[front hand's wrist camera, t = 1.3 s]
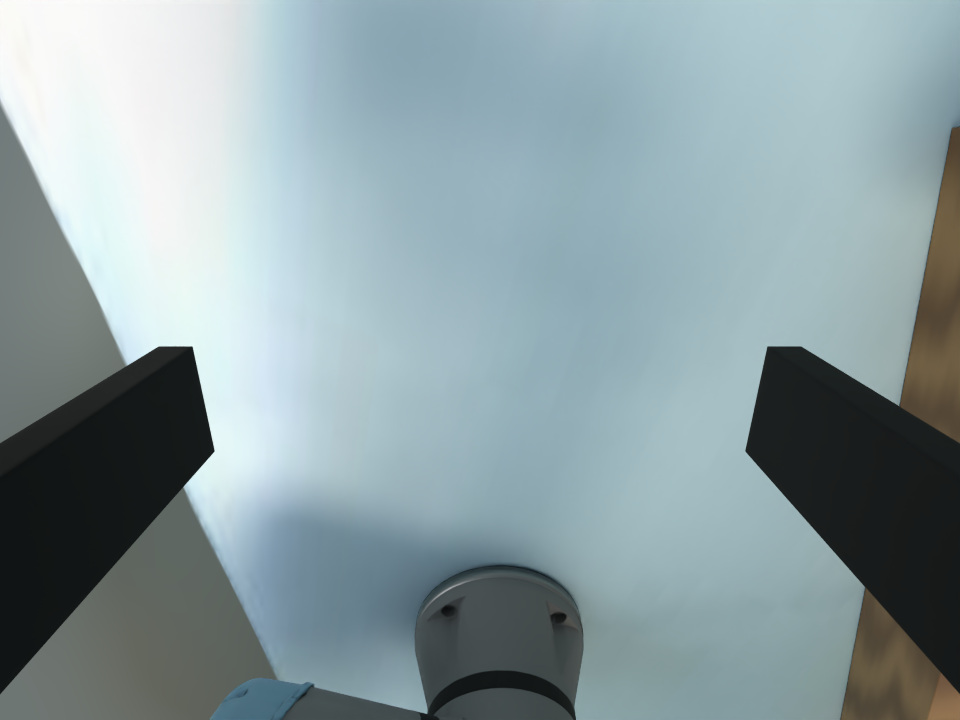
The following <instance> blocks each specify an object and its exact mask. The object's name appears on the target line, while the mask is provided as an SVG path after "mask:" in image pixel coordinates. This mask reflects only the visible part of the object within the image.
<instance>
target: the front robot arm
mask: <svg viewBox="0 0 960 720" xmlns="http://www.w3.org/2000/svg"><path fill="white" fill-rule="evenodd" d="M213 453H214V446H213V441H212V436H211V432H210V427H209V422H208V418H207V413H206V408H205V403H204V399H203V394H202V389H201V384H200V380H199V375H198V370H197V366H196V361H195V356H194V351H193V347H157V348H156V349H154V350H152V351H151V352H149V353H148V354H146V355H144V356H143V357H141V358H139V359H138V360H136V361H134V362H133V363H131V364H129V365H128V366H126V367H125V368H123V369H121V370H120V371H118V372H116V373H115V374H113V375H112V376H110V377H108V378H107V379H105V380H103V381H102V382H100V383H98V384H97V385H95V386H93V387H92V388H90V389H89V390H87V391H85V392H84V393H82V394H80V395H79V396H77V397H75V398H74V399H72V400H70V401H69V402H67V403H66V404H64V405H62V406H61V407H59V408H57V409H56V410H54V411H52V412H51V413H49V414H47V415H46V416H44V417H43V418H41V419H39V420H38V421H36V422H34V423H33V424H31V425H29V426H28V427H26V428H25V429H23V430H21V431H20V432H18V433H16V434H15V435H13V436H11V437H10V438H8V439H7V440H5V441H3V442H2V443H0V694H1V693H2V691H3V690H4V689H5V688H6V687H7V686H8V685H9V684H10V682H11V681H12V680H13V679H14V678H15V677H16V676H17V675H18V673H19V672H20V671H21V670H22V669H23V668H24V667H25V665H26V664H27V663H28V662H29V661H30V660H31V659H32V658H33V656H34V655H35V654H36V653H37V652H38V651H39V650H40V648H41V647H42V646H43V645H44V644H45V643H46V642H47V640H48V639H49V638H50V637H51V636H52V635H53V634H54V633H55V632H56V630H57V629H58V628H59V627H60V626H61V625H62V624H63V622H64V621H65V620H66V619H67V618H68V617H69V616H70V614H71V613H72V612H73V611H74V610H75V609H76V608H77V607H78V605H79V604H80V603H81V602H82V601H83V600H84V599H85V598H86V596H87V595H88V594H89V593H90V592H91V591H92V590H93V588H94V587H95V586H96V585H97V584H98V583H99V582H100V581H101V579H102V578H103V577H104V576H105V575H106V574H107V573H108V571H109V570H110V569H111V568H112V567H113V566H114V565H115V563H116V562H117V561H118V560H119V559H120V558H121V557H122V556H123V555H124V553H125V552H126V551H127V550H128V549H129V548H130V547H131V545H132V544H133V543H134V542H135V541H136V540H137V539H138V538H139V536H140V535H141V534H142V533H143V532H144V531H145V530H146V528H147V527H148V526H149V525H150V524H151V523H152V522H153V520H154V519H155V518H156V517H157V516H158V515H159V514H160V513H161V511H162V510H163V509H164V508H165V507H166V506H167V505H168V504H169V502H170V501H171V500H172V499H173V498H174V497H175V496H176V495H177V493H178V492H179V491H180V490H181V489H182V488H183V487H184V485H185V484H186V483H187V482H188V481H189V480H190V479H191V478H192V476H193V475H194V474H195V473H196V472H197V471H198V470H199V468H200V467H201V466H202V465H203V464H204V463H205V462H206V461H207V459H208V458H209V457H210V456H211V455H212V454H213ZM746 453H747V454H748V455H749V456H750V457H751V458H752V459H753V461H754V462H755V463H756V464H757V465H758V466H759V467H760V468H761V470H762V471H763V472H764V473H765V474H766V475H767V476H768V478H769V479H770V480H771V481H772V482H773V483H774V484H775V485H776V487H777V488H778V489H779V490H780V491H781V492H782V493H783V495H784V496H785V497H786V498H787V499H788V500H789V501H790V502H791V504H792V505H793V506H794V507H795V508H796V509H797V510H798V511H799V513H800V514H801V515H802V516H803V517H804V518H805V519H806V521H807V522H808V523H809V524H810V525H811V526H812V527H813V528H814V530H815V531H816V532H817V533H818V534H819V535H820V536H821V538H822V539H823V540H824V541H825V542H826V543H827V544H828V545H829V547H830V548H831V549H832V550H833V551H834V552H835V553H836V555H837V556H838V557H839V558H840V559H841V560H842V561H843V562H844V564H845V565H846V566H847V567H848V568H849V569H850V570H851V572H852V573H853V574H854V575H855V576H856V577H857V578H858V579H859V581H860V582H861V583H862V584H863V585H864V586H865V587H866V588H867V590H868V591H869V592H870V593H871V594H872V595H873V596H874V598H875V599H876V600H877V601H878V602H879V603H880V604H881V605H882V607H883V608H884V609H885V610H886V611H887V612H888V613H889V615H890V616H891V617H892V618H893V619H894V620H895V621H896V622H897V624H898V625H899V626H900V627H901V628H902V629H903V630H904V632H905V633H906V634H907V635H908V636H909V637H910V638H911V639H912V641H913V642H914V643H915V644H916V645H917V646H918V647H919V649H920V650H921V651H922V652H923V653H924V654H925V655H926V656H927V658H928V659H929V660H930V661H931V662H932V663H933V664H934V665H935V667H936V668H937V669H938V670H939V671H940V672H941V673H942V675H943V676H944V677H945V678H946V679H947V680H948V681H949V682H950V684H951V685H952V686H953V687H954V688H955V689H956V690H957V692H958V693H959V694H960V443H958V442H957V441H955V440H954V439H952V438H950V437H949V436H947V435H945V434H944V433H942V432H940V431H939V430H937V429H935V428H934V427H932V426H931V425H929V424H927V423H926V422H924V421H922V420H921V419H919V418H917V417H916V416H914V415H913V414H911V413H909V412H908V411H906V410H904V409H903V408H901V407H899V406H898V405H896V404H894V403H893V402H891V401H890V400H888V399H886V398H885V397H883V396H881V395H880V394H878V393H876V392H875V391H873V390H872V389H870V388H868V387H867V386H865V385H863V384H862V383H860V382H858V381H857V380H855V379H853V378H852V377H850V376H849V375H847V374H845V373H844V372H842V371H840V370H839V369H837V368H835V367H834V366H832V365H831V364H829V363H827V362H826V361H824V360H822V359H821V358H819V357H817V356H816V355H814V354H812V353H811V352H809V351H808V350H806V349H804V348H803V347H767V351H766V356H765V361H764V366H763V370H762V375H761V380H760V384H759V389H758V394H757V399H756V403H755V408H754V413H753V418H752V422H751V427H750V432H749V436H748V441H747V446H746ZM415 652H416V658H417V662H418V667H419V671H420V676H421V680H422V685H423V689H424V694H425V698H426V703H427V707H428V713H427V714H424V713H420V712H416V711H412V710H407V709H403V708H399V707H394V706H390V705H386V704H382V703H378V702H373V701H369V700H365V699H361V698H357V697H352V696H348V695H344V694H340V693H336V692H331V691H327V690H323V689H319V688H315V687H314V684H313V683H309V682H307V683H304V684H303V685H301V684H295V683H289V682H283V681H278V680H272V679H266V678H256V679H251V680H248V681H246V682H244V683H243V684H241V685H239V686H238V687H237V688H235V689H234V690H233V691H232V692H231V693H230V694H229V695H228V696H227V697H226V698H225V700H224V701H223V702H222V703H221V704H220V706H219V707H218V708H217V710H216V711H215V713H214V714H213V715H212V717H211V718H210V720H576V716H575V709H574V705H575V698H576V692H577V686H578V680H579V674H580V668H581V661H582V655H583V629H582V624H581V619H580V615H579V611H578V609H577V606H576V604H575V603H574V601H573V599H572V598H571V597H570V595H569V594H568V593H567V592H566V591H565V590H564V589H563V588H562V587H561V586H560V585H558V584H557V583H555V582H554V581H553V580H551V579H549V578H547V577H545V576H543V575H541V574H539V573H536V572H533V571H530V570H526V569H522V568H516V567H508V566H490V567H482V568H476V569H472V570H468V571H465V572H462V573H460V574H457V575H455V576H453V577H451V578H449V579H447V580H446V581H444V582H442V583H441V584H440V585H438V586H437V587H436V588H435V589H434V590H433V591H432V592H431V593H430V594H429V595H428V596H427V598H426V599H425V600H424V602H423V604H422V606H421V608H420V610H419V613H418V617H417V623H416V630H415Z"/></svg>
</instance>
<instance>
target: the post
mask: <svg viewBox="0 0 960 720" xmlns="http://www.w3.org/2000/svg"><path fill="white" fill-rule="evenodd" d="M900 407H901V408H903V409H904V410H906V411H908V412H909V413H911V414H913V415H914V416H916V417H917V418H919V419H921V420H922V421H924V422H926V423H927V424H929V425H931V426H932V427H934V428H935V429H937V430H939V431H940V432H942V433H944V434H945V435H947V436H949V437H950V438H952V439H954V440H955V441H957V442H958V443H960V127H954V128H952V132H951V137H950V143H949V148H948V153H947V158H946V164H945V169H944V174H943V180H942V185H941V190H940V196H939V201H938V206H937V212H936V217H935V222H934V227H933V233H932V238H931V243H930V249H929V254H928V259H927V265H926V270H925V275H924V281H923V286H922V291H921V296H920V302H919V307H918V312H917V318H916V323H915V328H914V334H913V339H912V344H911V350H910V355H909V360H908V365H907V371H906V376H905V381H904V387H903V392H902V397H901V403H900ZM841 720H960V694H959V693H958V692H957V690H956V689H955V688H954V687H953V686H952V685H951V684H950V682H949V681H948V680H947V679H946V678H945V677H944V676H943V675H942V673H941V672H940V671H939V670H938V669H937V668H936V667H935V665H934V664H933V663H932V662H931V661H930V660H929V659H928V658H927V656H926V655H925V654H924V653H923V652H922V651H921V650H920V649H919V647H918V646H917V645H916V644H915V643H914V642H913V641H912V639H911V638H910V637H909V636H908V635H907V634H906V633H905V632H904V630H903V629H902V628H901V627H900V626H899V625H898V624H897V622H896V621H895V620H894V619H893V618H892V617H891V616H890V615H889V613H888V612H887V611H886V610H885V609H884V608H883V607H882V605H881V604H880V603H879V602H878V601H877V600H876V599H875V598H874V596H873V595H872V594H871V593H870V592H869V591H868V590H867V588H865V594H864V599H863V604H862V610H861V615H860V620H859V625H858V631H857V636H856V641H855V647H854V652H853V657H852V663H851V668H850V673H849V679H848V684H847V689H846V694H845V700H844V705H843V710H842V716H841Z"/></svg>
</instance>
